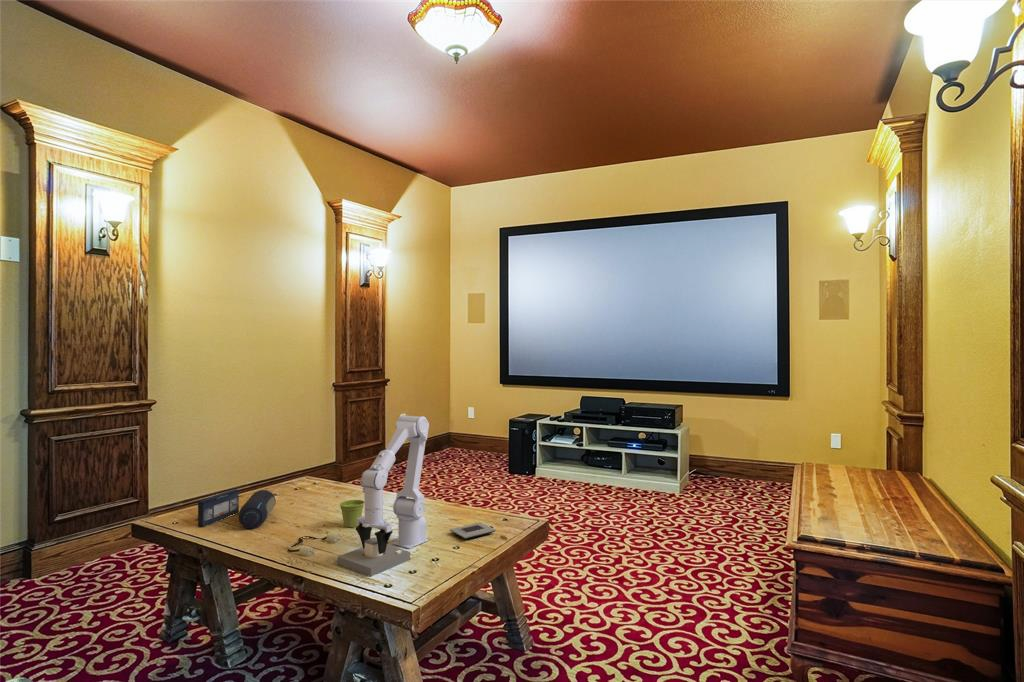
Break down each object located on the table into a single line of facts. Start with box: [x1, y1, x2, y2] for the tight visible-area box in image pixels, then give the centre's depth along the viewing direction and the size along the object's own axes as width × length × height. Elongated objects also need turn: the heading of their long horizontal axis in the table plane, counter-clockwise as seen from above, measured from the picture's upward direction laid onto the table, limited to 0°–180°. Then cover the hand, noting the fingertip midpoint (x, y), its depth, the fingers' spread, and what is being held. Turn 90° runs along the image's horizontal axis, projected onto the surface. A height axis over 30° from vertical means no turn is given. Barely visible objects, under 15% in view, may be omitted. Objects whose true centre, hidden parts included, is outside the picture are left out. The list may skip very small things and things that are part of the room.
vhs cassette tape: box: [197, 488, 240, 528], centre depth 224 cm, size 18×3×10 cm, turn 162°
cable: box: [287, 532, 341, 557], centre depth 195 cm, size 16×16×4 cm
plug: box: [365, 536, 383, 559], centre depth 180 cm, size 4×4×7 cm
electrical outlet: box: [449, 521, 497, 540], centre depth 206 cm, size 13×10×2 cm
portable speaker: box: [237, 489, 277, 529], centre depth 223 cm, size 25×10×10 cm, turn 12°
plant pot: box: [338, 499, 365, 528], centre depth 216 cm, size 9×9×9 cm
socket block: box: [336, 544, 411, 577], centre depth 180 cm, size 16×16×3 cm
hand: (374, 550), depth 180 cm, fingers open, 7 cm apart
